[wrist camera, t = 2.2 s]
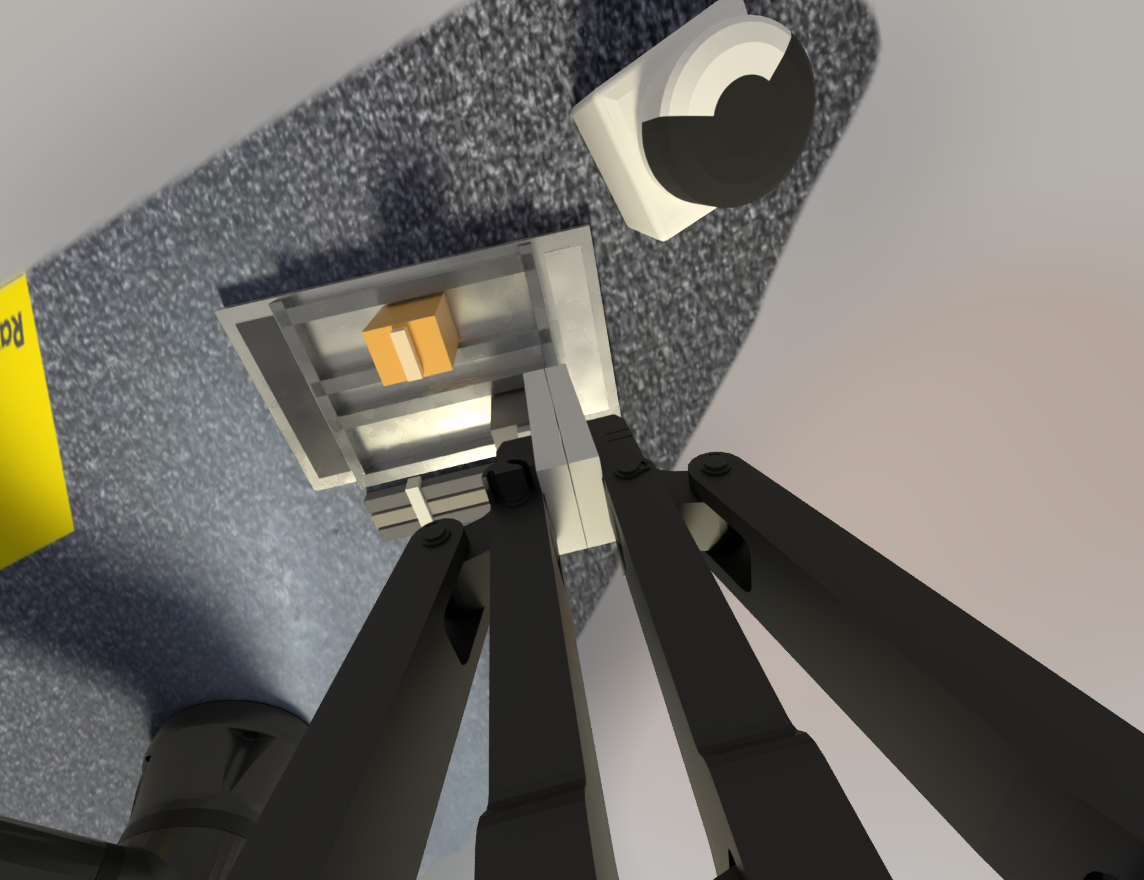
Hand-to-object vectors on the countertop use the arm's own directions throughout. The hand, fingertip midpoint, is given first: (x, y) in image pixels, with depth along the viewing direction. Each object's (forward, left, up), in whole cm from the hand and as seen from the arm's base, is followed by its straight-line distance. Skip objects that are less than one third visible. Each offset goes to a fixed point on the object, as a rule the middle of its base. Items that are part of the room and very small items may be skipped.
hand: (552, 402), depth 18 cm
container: (+10, +7, -19) cm, 22 cm away
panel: (-7, -4, -18) cm, 20 cm away
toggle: (-2, -8, -17) cm, 19 cm away
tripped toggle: (-7, 0, -17) cm, 18 cm away
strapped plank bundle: (-7, -15, -18) cm, 24 cm away
